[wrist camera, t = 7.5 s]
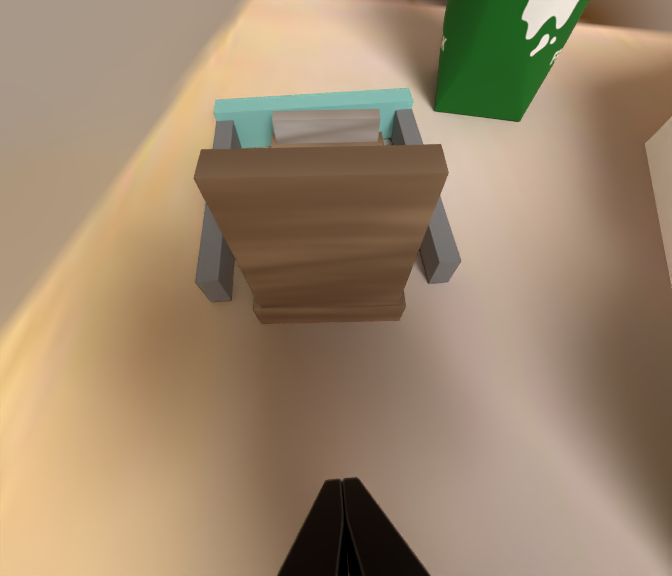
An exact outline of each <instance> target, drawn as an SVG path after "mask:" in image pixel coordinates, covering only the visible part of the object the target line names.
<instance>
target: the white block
mask: <svg viewBox="0 0 672 576" xmlns="http://www.w3.org/2000/svg"><path fill="white" fill-rule="evenodd" d="M645 149H646V154H647V159H648V164H649V170H650V175H651V180H652V186H653V191H654V196H655V202H656V207H657V212H658V218H659V223H660V228H661V234H662V239H663V244H664V250H665V255H666V260H667V266H668V271H669V276H670V282H671V287H672V117H671V118H670V119H669V120H668V121H667V122H666V123H665V124H664V125H663V126H662V127H661V128H660V129H659V130H658V131H657V132H656V133H655V134H654V135H653V136H652V137H651V138H650V139H649V140H648V141H647V142H646V143H645Z"/></svg>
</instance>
